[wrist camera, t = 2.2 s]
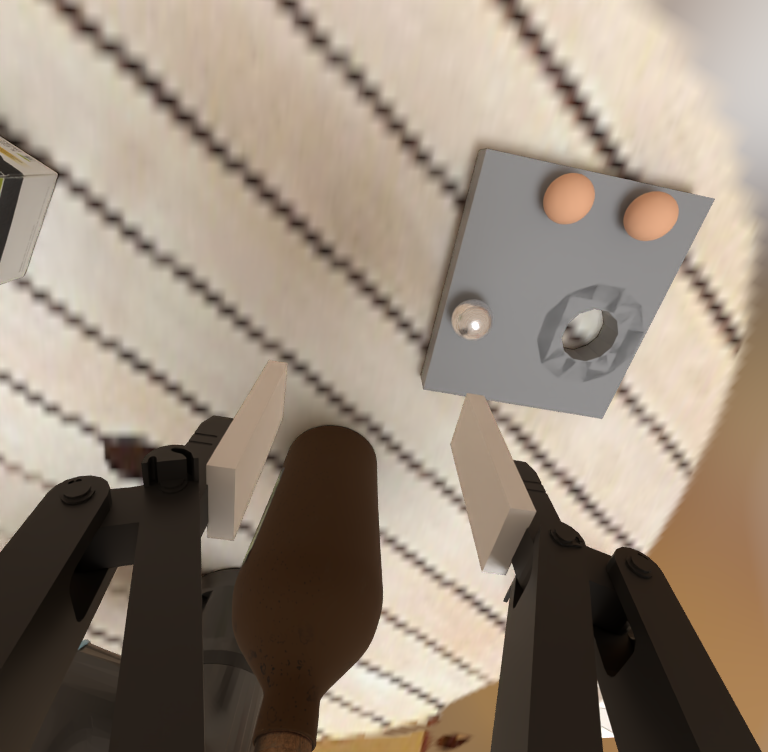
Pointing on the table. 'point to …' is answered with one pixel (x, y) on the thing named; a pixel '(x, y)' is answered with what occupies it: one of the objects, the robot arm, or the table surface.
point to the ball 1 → (472, 320)
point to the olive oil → (310, 583)
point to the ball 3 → (651, 216)
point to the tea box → (21, 207)
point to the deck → (551, 287)
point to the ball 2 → (569, 198)
